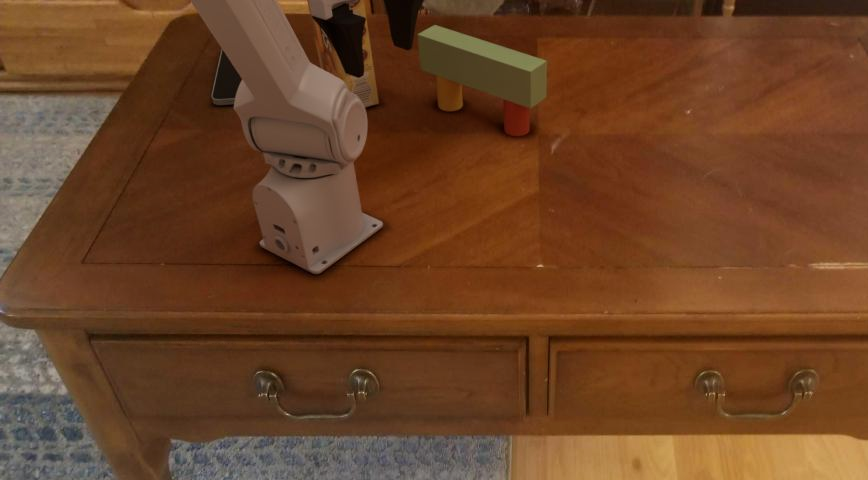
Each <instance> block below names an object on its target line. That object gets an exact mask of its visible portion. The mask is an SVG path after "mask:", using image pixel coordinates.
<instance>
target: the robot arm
mask: <svg viewBox="0 0 868 480" xmlns="http://www.w3.org/2000/svg"><path fill="white" fill-rule="evenodd" d="M189 1H190V3H191V4H192V6H193V8H195V10H196V12H197V13H198V15H199V16H200V18H201V19H202V21H203V22H204V24H205V25H206V27H207V28H208V30H209V31H210V33H211V34H212V36H213V38H214V39H215V41H216V42H217V44H218V45H219V46H220V48H221V50H222V49H223V51H224V52H225V54H226V55H227V57H228V58H229V60H230V61H231V63H232V65H233V66H234V68H235V69H236V71H237V72H238V74H239V75H240V77H241V78H242V81H241V83H240V85H239V87H238V90H237V93H236V97H235V102H234V104H233V110H234V112H235V113H236V114H237V116H238V118H239V119H240V123H241V128H242V132H243V135H244V137H245V140H246V141H247V144H248V145H249V147H250V148H251V149H252V150H254V151H255V152H258V153H262V154H263V159H264V163H265V165H270V168H269V169H268V172H267V173H266V175H265V176H264V177H263V178H262V179H261V180H260V181H259V182H258V183H257V184H256V185H255V186H254V187H253V189H252V193H251V196H252V197H251V198H252V203H253V207H254V210H255V214H256V218H257V221H258V225H259V228H260V232H261V236H262V239H261V240H260V241H259V246H260V248H262V249H264V250H266V251H267V252H270V253H272V254H274V255H276V256H278V257H280V258H282V259H284V260H286V261H288V262H290V263H291V264H294V265H296V266H298V267H300V268H302V269H303V270H305V271H307V272H309V273H311V274H313V275H320V274H321V273H323V272H324V271H325V270H326V269H328V268H330V267H331V266H332V265H333V264H335V263H336V262H338V261H339V260H340V259H342V258H343V257H344V256H345V255H347V254H349V253H350V252H351V251H352V250H354V249H355V248H356V247H358V246H359V245H361V244H362V243H363V242H365V241H366V240H368V239H369V238H370V237H372V235H374V234H376V232H378V231H380V230H381V229H382V228H383V227H384V223H383V221H382V220H381V219H378V218H375V217H373V216H371V215H369V214H366V213H364V212H363V211H362V210H363V209H362V204H361V198H360V192H359V186H358V181H357V175H356V168H355V163H354V162H355V161H356V160H357V158H359V157H360V156H361V154H362V152H363V150H364V148H365V146H366V141H367V136H368V130H369V129H368V128H369V126H368V125H369V124H368V123H369V122H368V113H367V110H366V108H365V107H364V105H363V104H362V101H361V100H360V98H359V97H358V96H357V95H356V94H353V93H351V92H350V91H349V90H348V88H347V86H346V84H345V82H344V81H343V80H341V79H340V78H338V77H336V76H334V75H332V74H331V73H329V72H327V71H325V70H323V69H321V67H319V66H317V65H315V64H314V63H312V62H310V60H309V58H308V56H307V54H306V52H305V50H304V48H303V46H302V45H301V42H300V40H299V39H298V37H297V35H296V33H295V31H294V29H293V27H292V25H291V24H290V22H289V20H288V18H287V16H286V14H285V12H284V10H283V9H282V7H281V5H280V2H279V1H278V0H189ZM308 1H309V6H310V11H311V15H312V18H313V19H314V20H315V21H316V23H317V24H318V25H319V26H320V27H321V29H322V30H323V31H324V33H325V34H326V36H327V37H328V39H329V40H330V42H331V43H332V45H333V47H334V49H335V51H336V53H337V55H338V57H339V59H340V62H341V64H342V66H343V69H344V71H345V73H346V74H349V75H352V76H354V77H357V78H360V77H362V76H364V59H363V49H362V40H363V31H364V25H365V21H366V18H367V17H366V18H365V17H362V16H359V15H356V14H353V10H352V9H351V10H350V8H349V5H350V4H352V3H354V2H356V1H358V0H308ZM308 1H307V2H308ZM423 1H424V0H383V3H384V6H385V10H386V15H387V19H388V25H389V31H390V37H391V41H392V43H393V46H394V47H397V48H399V49H402V50H405V51H410V50H412V49H413V44H414V38H415V32H416V25H417V21H418V17H419V13H420V9H421V7H422V4H423ZM309 6H308V7H309Z"/></svg>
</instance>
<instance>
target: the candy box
mask: <svg viewBox="0 0 868 480" xmlns="http://www.w3.org/2000/svg"><path fill="white" fill-rule="evenodd" d="M306 1H307V7H308V12H309V16H310V22H311V26H312V31H313V32H312V33H313V36H314V42H315V46H316V51H317V56H318V61H319V66H320V67H319V68H321V69H323V70H325V71H327V72H329V73H331V74H332V75H334V76H336V77H338V78H340V79H341V80H343V81H344V82H345V84H346V86H347V88H348V90H349V91H350V92H351V93H353V94H356V95H357V96H358V97H359V98H360V100H361V101H362V104H363V105H364V107H365V109H367V108H369V107H372V106H376V105H379V103H380V99H379V94H378V93H379V92H378V87H377V81H376V80H377V79H376V73H375V66H374V59H373V53H372V47H371V40H370V33H369V32H370V31H369V27H368V25H369V24H368V19H367V18H368V17H367V12H366V5H365V0H358V1H356V2H354V3H352V4H350V5H349V8H350V10H351V9H352V10H353V14H356V15H359V16H362V17H365V18H366V21H365V25H364V31H363V40H362V49H363V59H364V76H362V77H360V78H357V77H354V76H352V75H349V74H346V73H345V71H344V69H343V66H342V64H341V62H340V59H339V57H338V55H337V53H336V51H335V49H334V47H333V45H332V43H331V42H330V40H329V39H328V37H327V36H326V34H325V33H324V31H323V30H322V29H321V27H320V26H319V25H318V24H317V23H316V21H315V20H314V19H313V18H312V15H311V11H310V6H309V1H308V0H306Z"/></svg>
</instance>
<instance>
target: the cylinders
mask: <svg viewBox="0 0 868 480" xmlns="http://www.w3.org/2000/svg"><path fill="white" fill-rule="evenodd" d="M435 82H436V83H435V84H436V95H437V106H438V109H440V110H441V111H443V112H456V111H459V110H461V109H462V107H463V106H464V103H463V85H462V84H459V83H456V82H454V81H451V80H448V79H445V78H442V77H439V76H437V75H435ZM502 100H503V103H502V104H503V130H504V133H505V134H506V135H509V136H511V137H523V136H526V135H527V134H528V133H530V125H531V124H530V122H531V121H530V118H531V117H530V108H527V107H525V106H522V105H519V104H516V103H513V102H510V101H508V100H505V99H502Z"/></svg>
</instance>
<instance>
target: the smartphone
mask: <svg viewBox="0 0 868 480" xmlns="http://www.w3.org/2000/svg"><path fill="white" fill-rule="evenodd" d="M217 63H218V64H217V68H216V73H215V78H214V83H213V86H212V91H211V100H212V103H213V105H216V106H228V105H229V106H230V105H234V102H235V97H236V93H237V90H238V87H239V85H240V83H241V81H242V78H241V77H240V75H239V74H238V72H237V71H236V69H235V68H234V66H233V65H232V63H231V61H230V60H229V58H228V57H227V55H226V54H225V52H224V51H223V49H222V48H221V50H220V55H219V60H218V62H217Z"/></svg>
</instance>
